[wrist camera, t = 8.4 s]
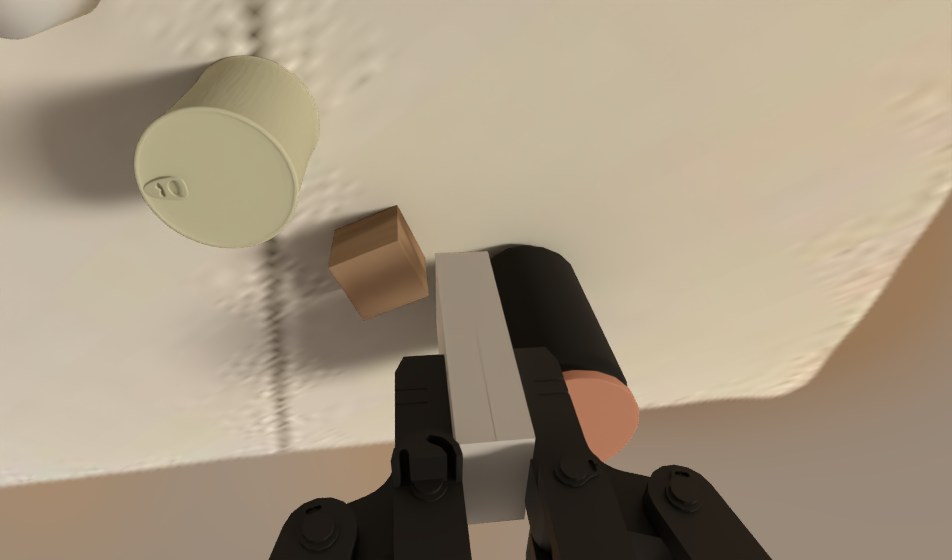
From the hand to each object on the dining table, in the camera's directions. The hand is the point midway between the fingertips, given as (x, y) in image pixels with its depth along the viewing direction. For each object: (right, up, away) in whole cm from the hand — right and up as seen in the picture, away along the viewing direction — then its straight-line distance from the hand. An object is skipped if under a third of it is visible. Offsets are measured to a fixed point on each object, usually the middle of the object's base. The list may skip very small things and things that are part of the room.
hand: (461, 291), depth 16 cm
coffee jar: (+5, 0, +38) cm, 38 cm away
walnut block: (-8, +4, +33) cm, 34 cm away
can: (-16, +13, +26) cm, 33 cm away
